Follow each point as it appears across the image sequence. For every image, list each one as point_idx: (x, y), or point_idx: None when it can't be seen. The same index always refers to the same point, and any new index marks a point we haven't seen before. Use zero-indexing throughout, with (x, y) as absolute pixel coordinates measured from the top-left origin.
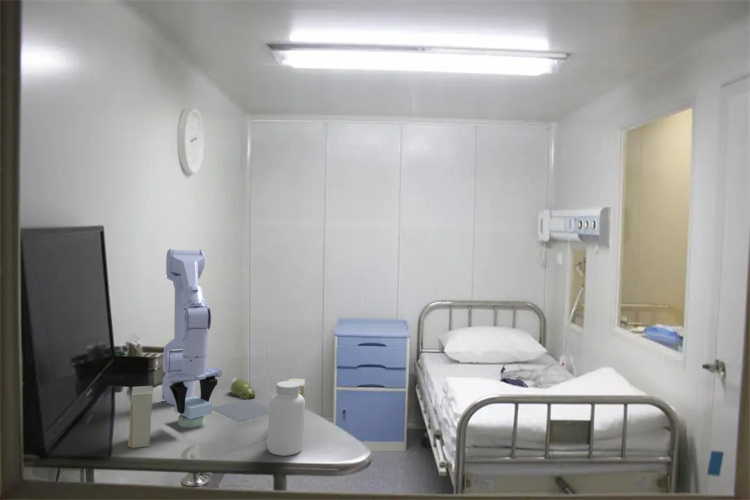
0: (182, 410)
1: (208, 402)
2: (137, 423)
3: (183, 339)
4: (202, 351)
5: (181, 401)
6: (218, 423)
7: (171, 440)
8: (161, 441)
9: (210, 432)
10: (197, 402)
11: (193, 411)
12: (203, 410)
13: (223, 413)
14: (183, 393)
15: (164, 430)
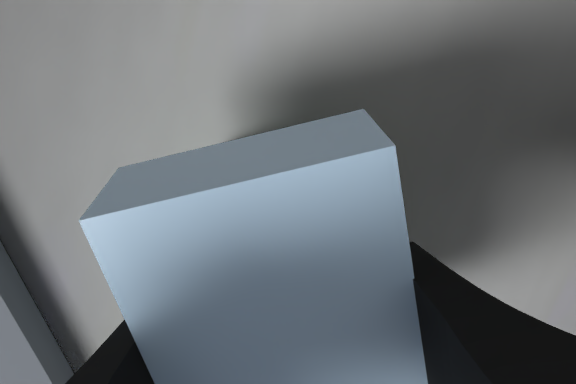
0: (421, 252)
1: (116, 276)
2: None
3: None
4: None
5: (496, 299)
6: (75, 217)
7: (491, 32)
8: (558, 49)
9: (170, 55)
10: (246, 326)
11: (339, 142)
12: (207, 165)
13: (8, 324)
14: (555, 372)
15: (457, 247)
